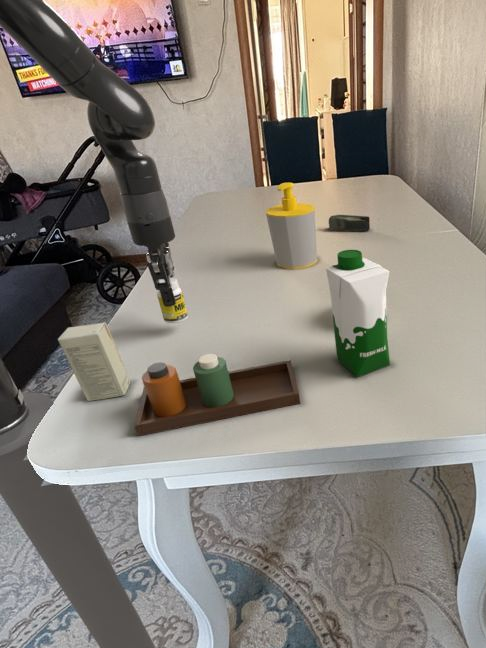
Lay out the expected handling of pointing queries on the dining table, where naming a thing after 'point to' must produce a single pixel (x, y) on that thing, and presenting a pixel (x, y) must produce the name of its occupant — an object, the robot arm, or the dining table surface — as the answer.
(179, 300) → the supplement bottle
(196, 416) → the tray
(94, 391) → the cosmetic box
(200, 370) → the green bottle
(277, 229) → the soap bottle
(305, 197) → the dining table surface
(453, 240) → the dining table surface
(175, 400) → the amber bottle
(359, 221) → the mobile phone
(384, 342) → the milk carton
